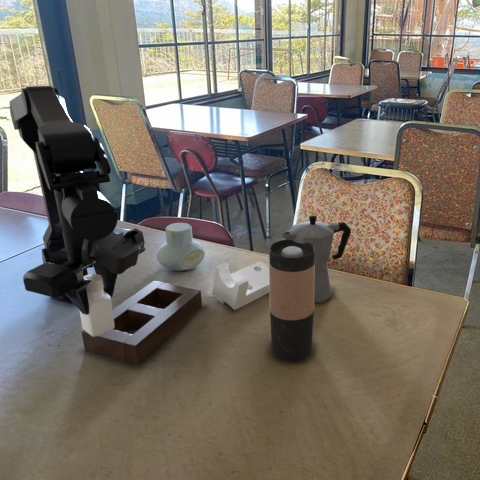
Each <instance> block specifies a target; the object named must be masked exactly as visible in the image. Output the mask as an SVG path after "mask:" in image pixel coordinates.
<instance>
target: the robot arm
mask: <svg viewBox="0 0 480 480" xmlns="http://www.w3.org/2000/svg"><path fill="white" fill-rule="evenodd" d="M9 114H10V118H11V122H12V126H13V129H14V130H15V131H18V134H19V137H20V138H21V140H22V141H23V142H24V143H25V144H26V145H27V146H28V147H29V149H30V150H32V153H33V157H34V161H35V166H36V170H37V176H38V181H39V184H40V189H41V193H42V199H43V203H44V207H45V208H44V209H45V212H46V217H47V221H48V226H47V228H46V230H45V232H44V234H43V235H42V241H43V246H44V248H41V260H42V264H40V265H38V266H36V267H34V268H31V269H29V270H28V271H26V272H25V274H23V276H22V281H23V284H24V289H25V291H26V292H27V291H28V292H31V293H34V294H39V295H42V296H46V297H50V299H51V300H56V301H60V302H64V303H67V304H72V305H74V306H75V307H76V308H77V309H78V311H79V310H80V311H81V312H82V313H83V314H86V315H88V314H89V302H88V296H87V289H86V287H87V286H88V285H89V283H90V282H91V280H88V279H84V276H86V275H89V272H88V269H91V268H93V269H94V272H95V274H99V275H101V276H102V278H103V285H104V288H103V290H104V292H106V293H107V294H108V295H109V296H110V297H111V300H112V299H113V296H114V292H115V288H116V282H117V279H118V275H121V274H124V273H125V272H126V271H127V270H129V269H130V268H132V267H135V266H136V265H137V263H138V259H139V255H141V254H142V253H144V252H145V251H146V248H145V243H146V241H145V237H144V234H143V233H144V232H143V230H140V229H138V228H137V227H135V228H132V229H126V228H122V227H121V228H120V227H117V224H118V217H119V216H118V212H117V211H116V208H115V207H114V206H113V204H112V203H111V202H110V201H109V200H108V199H107V198H106V197H105V195H103V193H102V191H101V188H100V184H105V183H110V182H111V178H110V174H111V171H112V169H111V165H110V163H109V160H108V157H107V154H106V151H105V148H104V145H103V144H102V143H101V142H100V140H99V138H98V137H97V136H93V133H92V131H90V128H88V127H87V126H86V125H85V124H83V123H79V122H75V121H73V120H72V119H71V117H70V115H69V112H68V108H67V104H66V101H65V98H64V97H63V96H62V95H60V94H59V90H58V88H57V86H52V85H32V86H31V85H30V86H25V87H22V88H21V93H20V94H19V95H17V96H15V97H13V98H12V99H10V100H9ZM97 168H98V170H97ZM80 311H79V312H80Z"/></svg>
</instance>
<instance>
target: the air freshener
mask: <svg viewBox="0 0 480 480" xmlns="http://www.w3.org/2000/svg"><path fill="white" fill-rule="evenodd" d="M164 230H165V239H166V242H164V243H163V244H162V245H161V246H160V247H159V248H158V250H157V252H156V260H157V262H158V263H159V265H160V266H162V267H163V268H165V269H167V270H170V271H176V272H177V271H178V272H183V271H189V270H193V268H195V267H197V266H198V265H200V264H201V263H202V261H203V260H204V258H205V255H206V254H205V253H206V252H205V248H204V246H203V245H202V244H201V243H200V242H198V241H196V240H194V239H193V229H192V225H191V224H189V223H186V222H175V223H170V224H168V225H167V226H166V227H165V229H164Z"/></svg>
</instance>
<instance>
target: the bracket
mask: <svg viewBox="0 0 480 480" xmlns="http://www.w3.org/2000/svg"><path fill="white" fill-rule="evenodd" d="M267 294H269V267H268V266H267V264H265V263H263V262H262V260H261V261H257V262H254V263H253V264H250V265H248V266H246V267H243V268H241V269H239V270H236V271H234V272H231V270H230V264H229V263H228V262H227V261H225V262H222V263H221V264H218V265H216V266H215V272H214V279H213V285H212V293H211V295H212V296H214V297H215V298H216V299H217V300H218V301H219V302H220V303H222V304H225V303H226V304H227V305H228V306H229V307H230V308H231V309H233V310H234V311H236V310H238V309H240V308H242V307H244V306H245V305H247V304H250V303H251V302H254V301H255V300H257V299H260V298H261V297H263V296H266V295H267Z"/></svg>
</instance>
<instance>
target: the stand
mask: <svg viewBox="0 0 480 480" xmlns="http://www.w3.org/2000/svg"><path fill="white" fill-rule="evenodd" d="M202 299H203V298H202V290H201V289H195V288H191V287H187V286H183V285H182V286H181V285H176V284H172V283H167V282H162V281H158V280H153V281H151V282H150V283H148V284H147V285H146V286H144V287H142V288H141V289H140V290H138V291H137V292H136V293H134V294H133V295H131V296H130V297H128V298H127V299H125V300H124V301H122V302H121V303H120V304H119V305H117V306H115V307H114V308H112V310H113V317H114V325H115V327H114V329H112V330H110V331H107V332H105V333H103V334H100V335H98V336H94V337H93V336H91V335H90V334H89V333H87V332H86V331H85V330H84V329H83V330H82V331H81V337H82V342H83V347H84V351H85V352H87V353H88V352H89V353H92V354H96V355H98V356H102V357H106V358H110V359H113V360H117V361H121V362H123V363H127V364H131V365H135V366H140V364H142V363H143V362H144V361H145V360H146V359H147V358H148V357H150V356H151V355H152V354H153V352H155V351H156V350H157V349H158V348H160V346H161V345H163V344H164V343H165V342H166V341H167V340H168V339H169V338H170V337H171V336H172V335H174V334H175V333H176V332H177V331H178V330H179V329H180V328H181V327H182V326H183V325H185V324H186V323H187V322H188V321H189V320H190V319H191V318H192V317H193V316H195V315H196V314H197V313H198V312H199V311H201V309H202V308H203V301H202ZM158 306H162V307H165V308H164V309H163V308H159V307H158ZM131 328H132V329H135V330H136V331H135V332H134V333H133V334H132V333H128V332H127V331H128V330H129V329H131Z"/></svg>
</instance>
